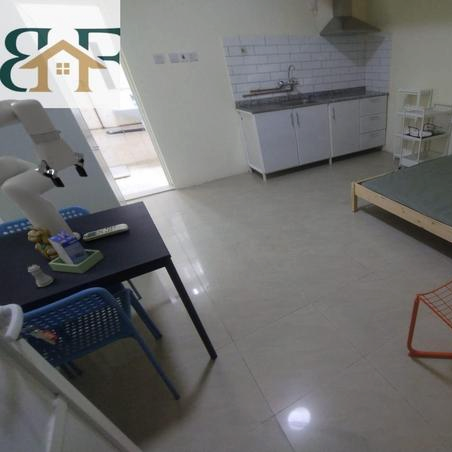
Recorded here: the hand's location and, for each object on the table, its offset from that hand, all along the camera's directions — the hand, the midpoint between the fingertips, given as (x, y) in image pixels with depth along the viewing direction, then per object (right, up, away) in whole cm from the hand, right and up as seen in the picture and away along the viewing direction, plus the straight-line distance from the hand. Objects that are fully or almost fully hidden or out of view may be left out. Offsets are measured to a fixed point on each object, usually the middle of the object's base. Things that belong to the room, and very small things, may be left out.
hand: (73, 181), depth 109 cm
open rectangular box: (+1, -32, +2) cm, 33 cm away
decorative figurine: (-13, -30, +8) cm, 34 cm away
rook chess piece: (-4, -39, -7) cm, 39 cm away
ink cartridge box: (+1, -32, +2) cm, 32 cm away
